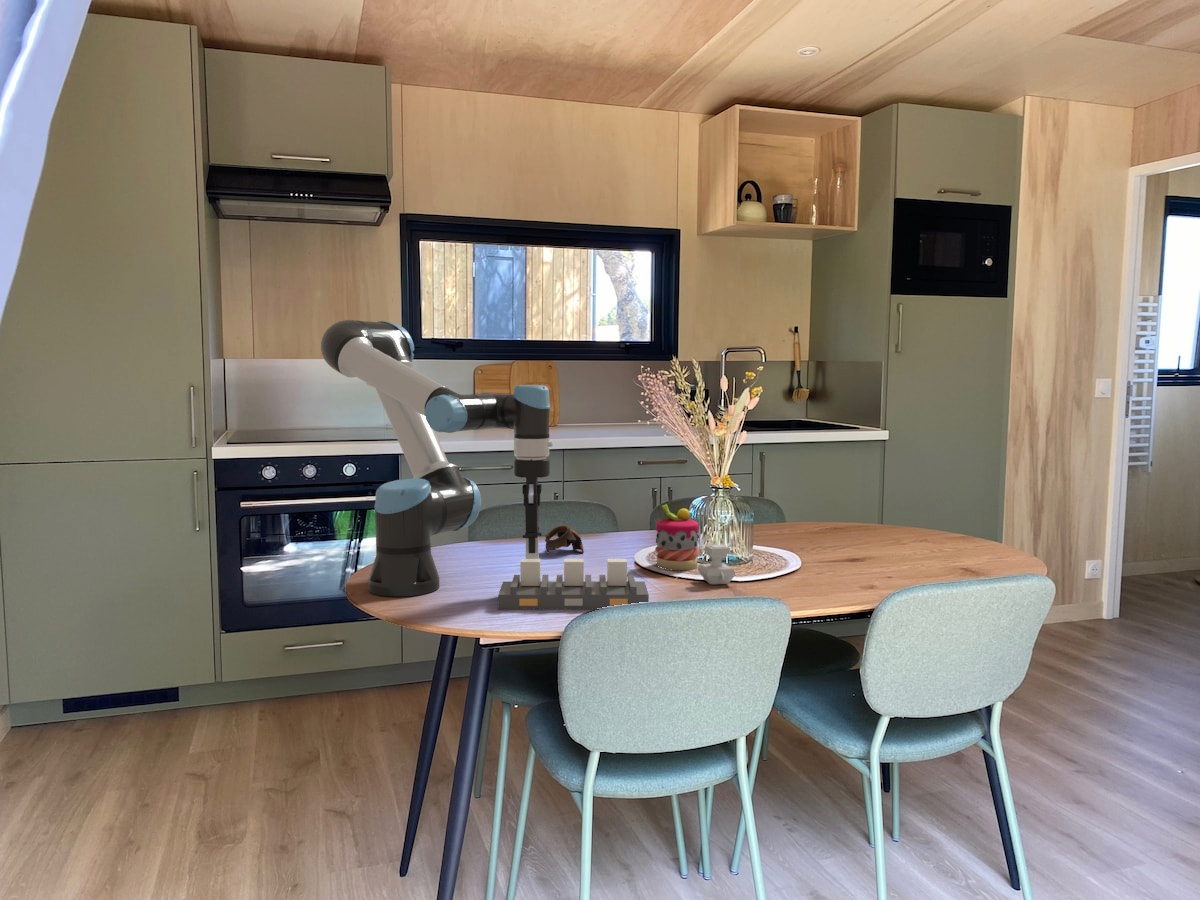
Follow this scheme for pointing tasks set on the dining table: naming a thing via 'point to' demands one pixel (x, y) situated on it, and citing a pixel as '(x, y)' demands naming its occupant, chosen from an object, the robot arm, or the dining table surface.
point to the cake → (677, 541)
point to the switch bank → (570, 594)
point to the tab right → (617, 572)
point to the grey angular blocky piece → (716, 566)
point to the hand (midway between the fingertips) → (532, 567)
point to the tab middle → (573, 572)
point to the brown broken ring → (563, 539)
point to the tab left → (530, 572)
